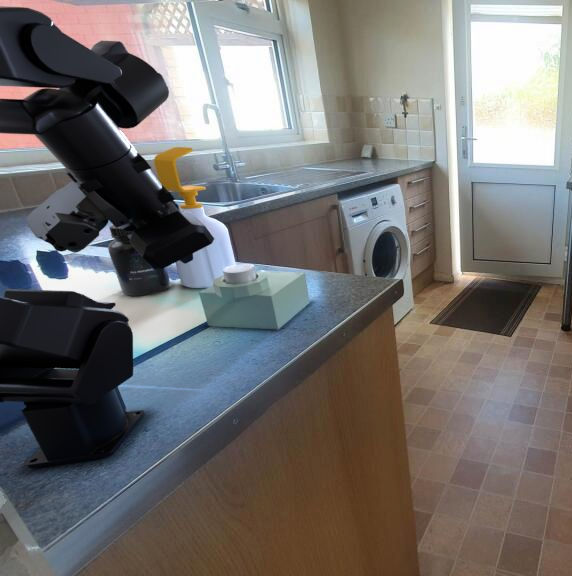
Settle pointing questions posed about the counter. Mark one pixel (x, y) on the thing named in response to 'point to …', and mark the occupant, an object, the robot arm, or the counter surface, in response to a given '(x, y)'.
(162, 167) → the soap bottle
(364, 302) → the counter surface
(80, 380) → the robot arm
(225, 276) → the flush button
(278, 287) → the push button box
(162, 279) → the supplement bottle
